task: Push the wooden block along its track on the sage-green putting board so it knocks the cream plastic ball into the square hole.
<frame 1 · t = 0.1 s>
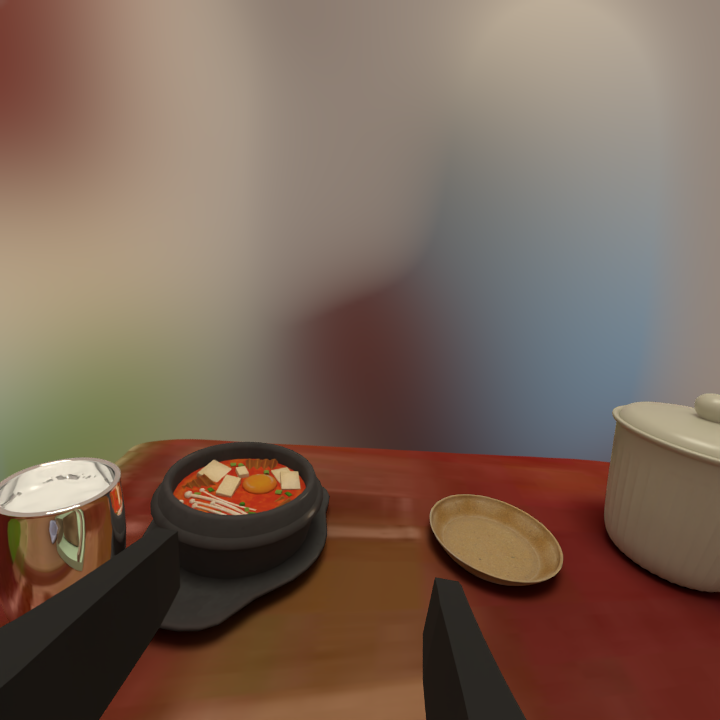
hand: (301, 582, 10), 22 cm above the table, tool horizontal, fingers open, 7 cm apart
plant saucer: (488, 551, 45), on the table
silver metal tumbler: (73, 670, 27), on the table
canister: (662, 557, 47), on the table
casserole: (240, 543, 42), on the table
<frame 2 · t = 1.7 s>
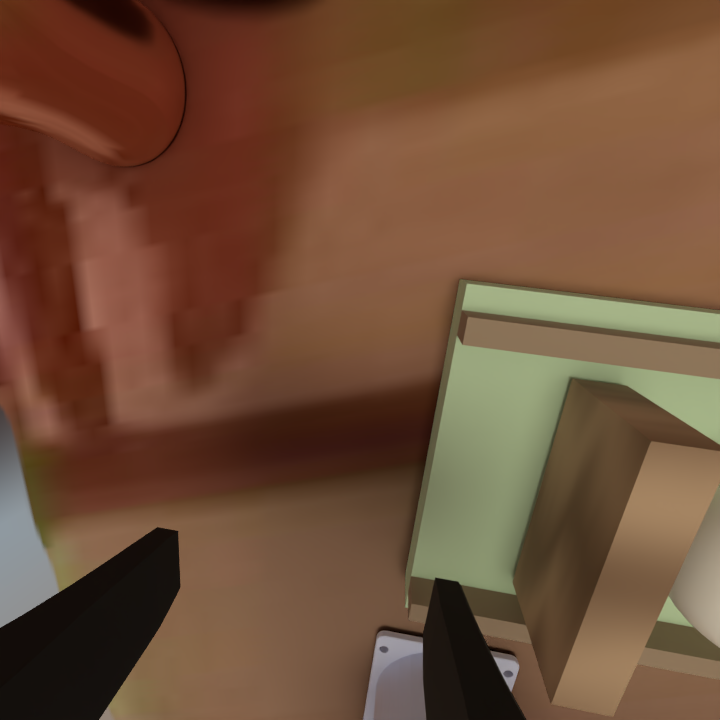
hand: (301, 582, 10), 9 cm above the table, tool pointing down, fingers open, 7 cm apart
silver metal tumbler: (119, 87, 16), on the table
putting board: (712, 489, 18), on the table
wooden block: (591, 536, 14), point 5 cm above the table, slide at 0.0 cm
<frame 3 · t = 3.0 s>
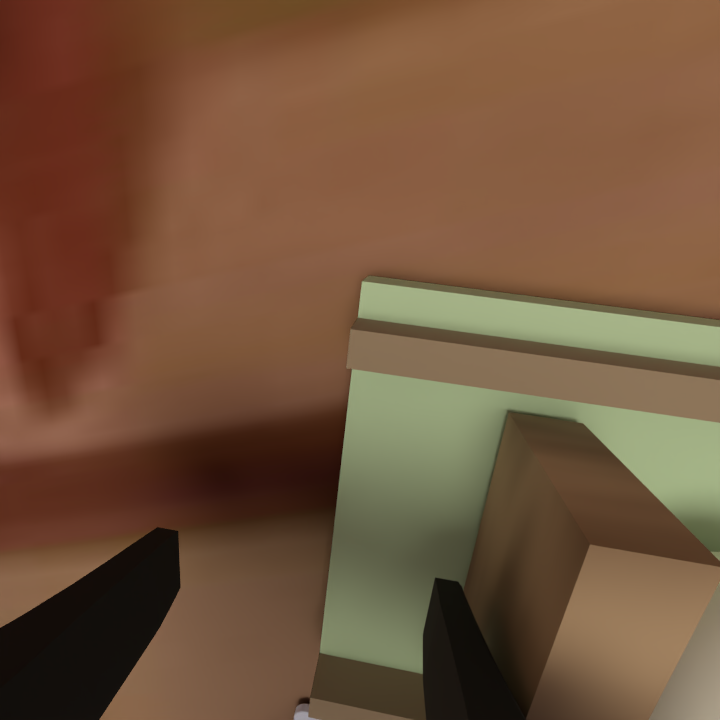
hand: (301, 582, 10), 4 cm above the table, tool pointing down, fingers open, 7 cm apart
putting board: (701, 548, 14), on the table
wooden block: (528, 637, 10), point 5 cm above the table, slide at 0.0 cm, touching gripper
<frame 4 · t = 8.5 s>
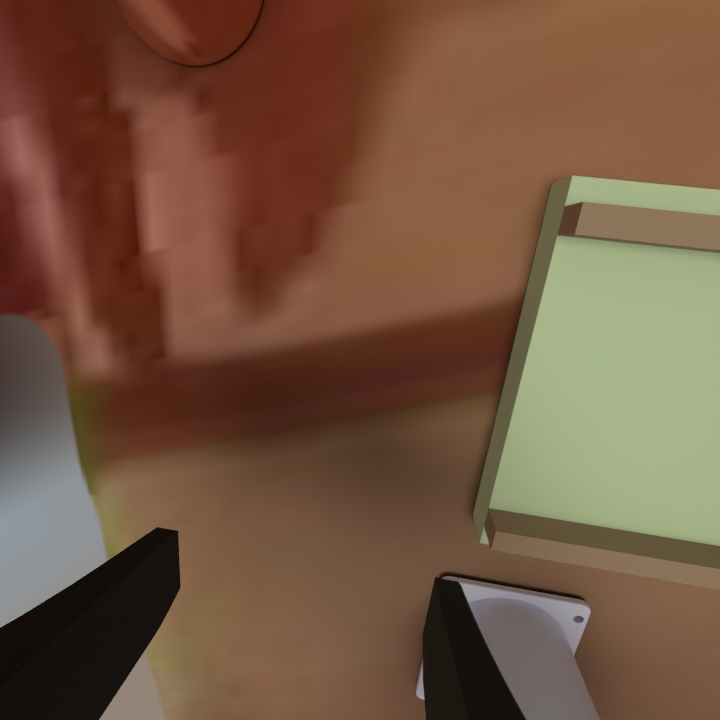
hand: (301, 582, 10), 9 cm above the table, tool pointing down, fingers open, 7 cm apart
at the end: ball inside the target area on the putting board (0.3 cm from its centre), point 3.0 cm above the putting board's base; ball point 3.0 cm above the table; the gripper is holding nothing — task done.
